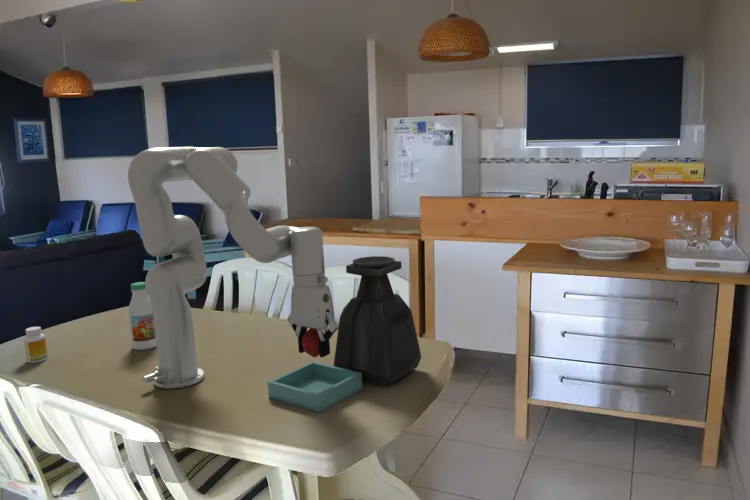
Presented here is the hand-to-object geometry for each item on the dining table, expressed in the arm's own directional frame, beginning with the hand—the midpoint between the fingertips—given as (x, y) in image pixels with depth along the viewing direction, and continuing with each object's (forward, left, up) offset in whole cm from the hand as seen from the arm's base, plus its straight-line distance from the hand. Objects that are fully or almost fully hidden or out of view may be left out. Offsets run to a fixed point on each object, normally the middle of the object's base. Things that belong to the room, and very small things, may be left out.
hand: (314, 352), depth 148 cm
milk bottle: (0, +70, -10) cm, 71 cm away
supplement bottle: (-24, +88, -10) cm, 92 cm away
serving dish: (0, 0, -10) cm, 10 cm away
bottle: (+18, -5, -10) cm, 22 cm away
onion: (0, 0, -1) cm, 1 cm away
